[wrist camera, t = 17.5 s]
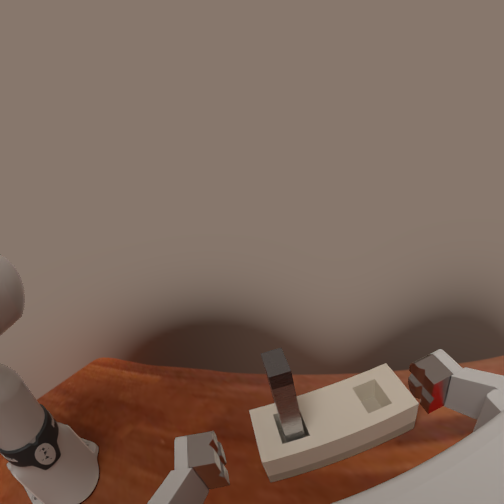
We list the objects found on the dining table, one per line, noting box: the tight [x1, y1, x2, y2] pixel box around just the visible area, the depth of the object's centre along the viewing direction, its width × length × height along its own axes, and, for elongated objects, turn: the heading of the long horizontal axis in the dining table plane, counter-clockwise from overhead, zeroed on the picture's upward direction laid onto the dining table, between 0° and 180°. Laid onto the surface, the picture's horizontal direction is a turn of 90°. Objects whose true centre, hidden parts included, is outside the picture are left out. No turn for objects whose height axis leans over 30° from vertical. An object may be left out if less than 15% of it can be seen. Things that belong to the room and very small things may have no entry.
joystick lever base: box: [249, 364, 419, 482], centre depth 41 cm, size 22×10×6 cm, turn 100°
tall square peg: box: [261, 348, 305, 443], centre depth 38 cm, size 4×2×16 cm, turn 10°
